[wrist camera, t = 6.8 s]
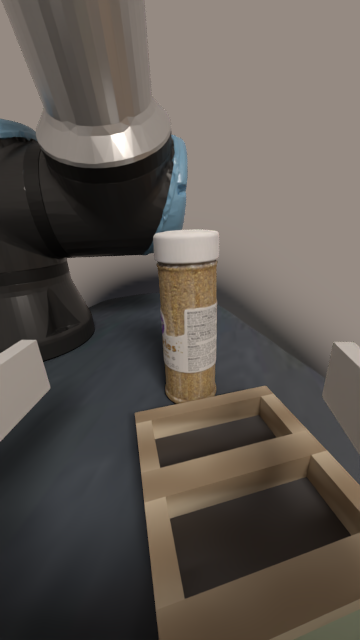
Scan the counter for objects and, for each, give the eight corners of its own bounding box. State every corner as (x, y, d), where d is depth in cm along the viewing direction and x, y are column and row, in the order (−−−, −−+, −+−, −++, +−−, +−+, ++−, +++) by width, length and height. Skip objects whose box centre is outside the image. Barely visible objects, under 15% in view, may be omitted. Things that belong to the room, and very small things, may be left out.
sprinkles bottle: (158, 384, 23) (144, 231, 18) (202, 372, 24) (200, 228, 20) (177, 417, 19) (165, 233, 14) (227, 399, 21) (233, 228, 16)
